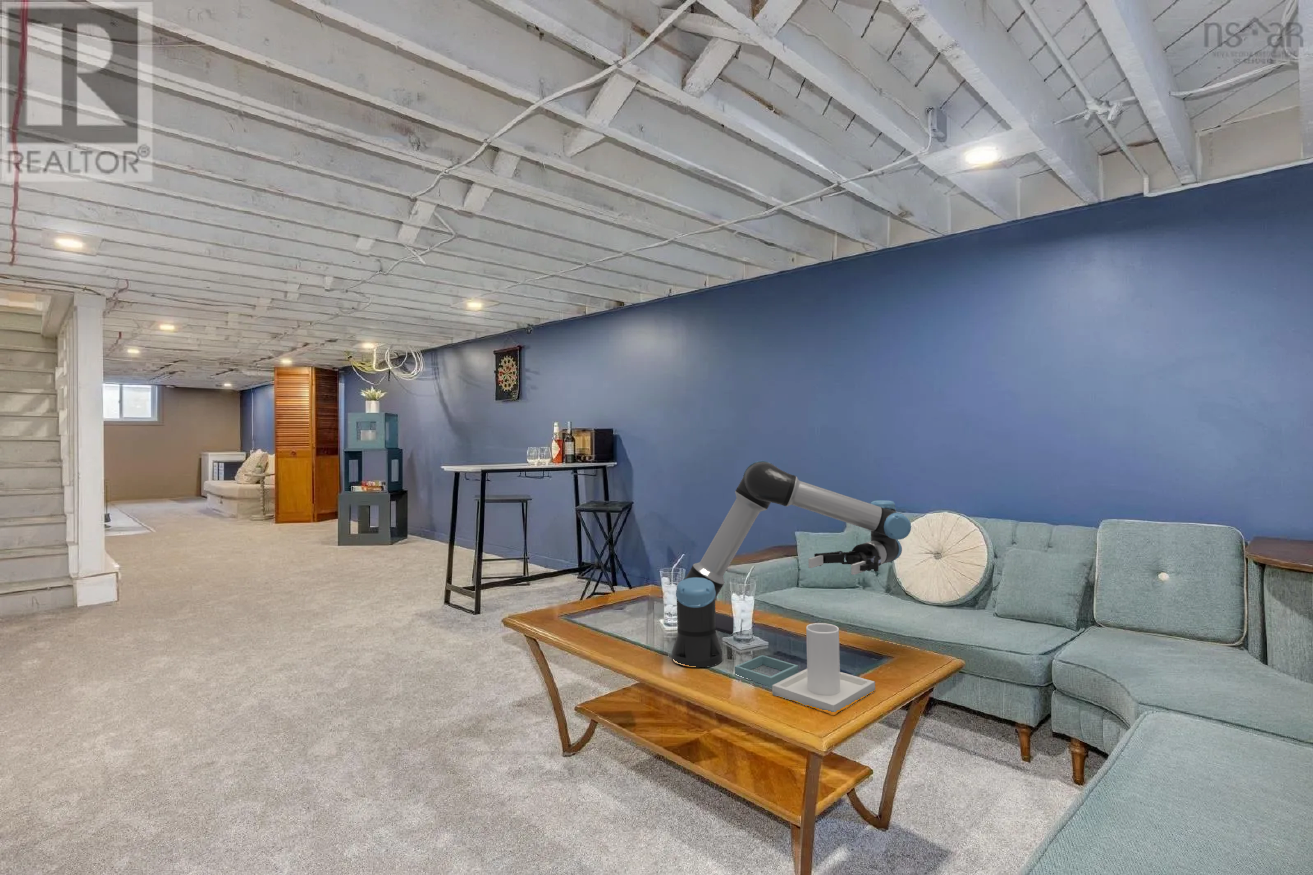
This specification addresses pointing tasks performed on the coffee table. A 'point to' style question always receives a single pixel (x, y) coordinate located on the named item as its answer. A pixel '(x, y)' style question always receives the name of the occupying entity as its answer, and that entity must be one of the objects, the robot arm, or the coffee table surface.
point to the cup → (823, 659)
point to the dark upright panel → (724, 624)
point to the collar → (786, 667)
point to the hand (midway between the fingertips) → (830, 566)
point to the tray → (798, 691)
